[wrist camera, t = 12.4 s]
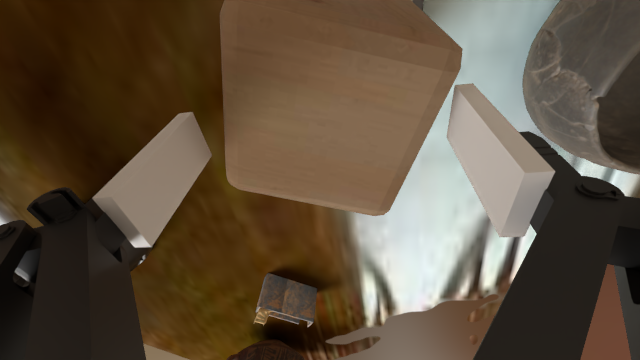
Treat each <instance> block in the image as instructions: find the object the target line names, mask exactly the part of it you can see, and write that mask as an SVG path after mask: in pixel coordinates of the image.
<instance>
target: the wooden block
mask: <svg viewBox="0 0 640 360" xmlns="http://www.w3.org/2000/svg"><path fill="white" fill-rule="evenodd" d="M220 33H221V58H222V83H223V108H224V133H225V158H226V175H227V179H228V181H229V183H230V184H231V185H232V186H234V187H236V188H238V189H240V190H245V191H250V192H255V193H260V194H265V195H271V196H276V197H281V198H286V199H291V200H296V201H301V202H306V203H311V204H316V205H321V206H326V207H331V208H336V209H341V210H346V211H351V212H356V213H362V214H367V215H372V216H378V215H384V214H385V213H387V212H388V211H389V210H390V208H391V206H392V204H393V202H394V200H395V198H396V196H397V194H398V192H399V190H400V188H401V186H402V184H403V182H404V180H405V178H406V176H407V174H408V172H409V170H410V168H411V166H412V164H413V162H414V160H415V158H416V156H417V154H418V152H419V150H420V148H421V146H422V144H423V142H424V140H425V138H426V136H427V134H428V132H429V130H430V128H431V126H432V124H433V122H434V120H435V119H436V117H437V115H438V113H439V111H440V109H441V107H442V105H443V103H444V101H445V99H446V97H447V95H448V93H449V91H450V89H451V87H452V85H453V83H454V81H455V79H456V77H457V75H458V73H459V70H460V68H461V57H462V48H461V47H460V46H459V45H458V44H457V43H456V42H455V41H454V40H453V39H452V38H450V37H449V36H448V35H447V34H446V33H445V32H444V31H443V30H442V29H441V28H440V27H439V26H438V25H437V24H436V23H435V22H433V21H432V20H431V19H430V18H429V17H428V16H427V15H426V14H425V13H424V12H423V11H422V10H421V9H420V8H419V7H418V6H416V5H415V4H414V3H413V2H412V1H411V0H224V3H223V6H222V8H221V11H220Z"/></svg>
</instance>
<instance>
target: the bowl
mask: <svg viewBox="0 0 640 360" xmlns="http://www.w3.org/2000/svg"><path fill="white" fill-rule="evenodd" d="M523 94H524V100H525V105H526V109H527V111H528V113H529V115H530V117H531V119H532V120H533V122H534V123H535V125H536V126H537V128H538V129H539V130H540V131H541V133H543V134H544V135H545V136H546V137H547V138H548V139H549V140H551V141H552V142H554V143H556V144H557V145H559V146H560V147H562V148H563V149H564V150H566V151H567V152H569V153H571V154H573V155H575V156H577V157H580V158H585V159H586V160H589V161H591V162H592V163H595V164H598V165H601V166H605V167H609V168H613V169H617V170H620V171H624V172H628V173H633V174H640V0H561V1H560V2H559V3H558V4H557V5H556V7H555V8H554V10H553V11H552V13H551V14H550V16H549V17H548V19H547V20H546V22H545V23H544V24H543V26H542V27H541V29H540V30H539V32H538V34H537V35H536V38H535V39H534V41H533V43H532V45H531V48H530V51H529V54H528V57H527V60H526V64H525V69H524V74H523Z"/></svg>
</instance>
